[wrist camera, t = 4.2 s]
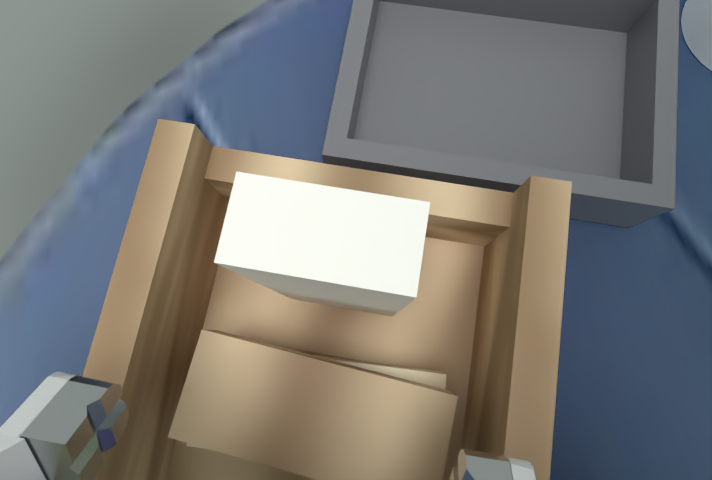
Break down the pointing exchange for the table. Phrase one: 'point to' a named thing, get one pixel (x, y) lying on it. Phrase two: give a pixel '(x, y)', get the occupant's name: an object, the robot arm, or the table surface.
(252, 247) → the white upright pillar
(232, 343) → the offcut top
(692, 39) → the cylindrical container
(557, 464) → the table surface
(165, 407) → the tray
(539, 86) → the charcoal tray
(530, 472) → the robot arm
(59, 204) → the table surface
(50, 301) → the table surface
